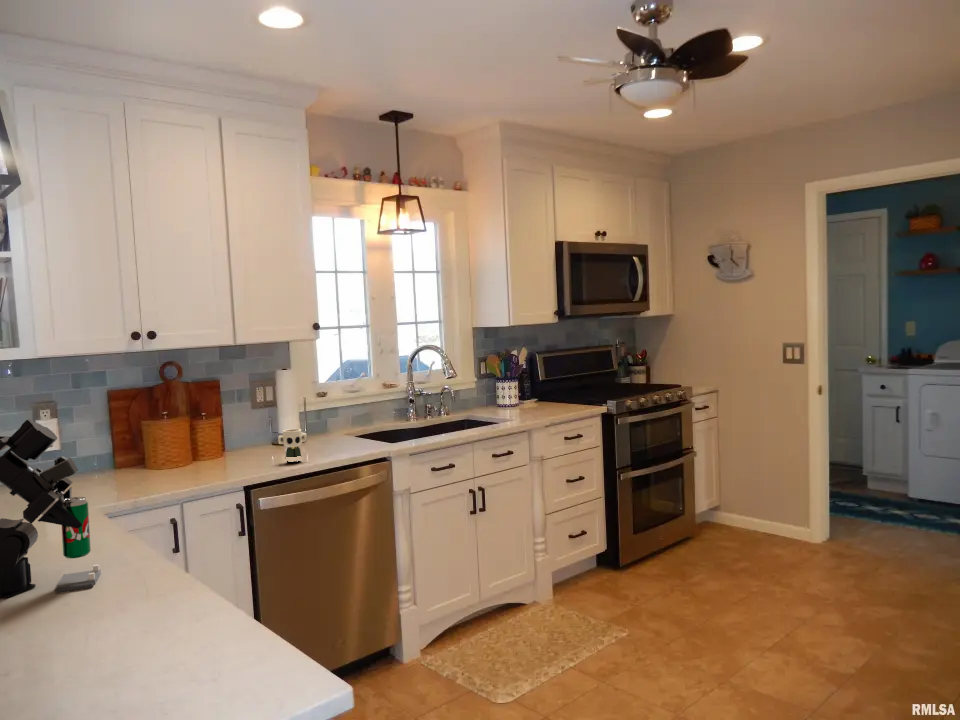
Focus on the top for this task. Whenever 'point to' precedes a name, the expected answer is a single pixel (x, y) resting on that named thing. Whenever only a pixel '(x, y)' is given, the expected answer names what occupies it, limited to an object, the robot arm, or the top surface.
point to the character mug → (292, 441)
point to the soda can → (76, 529)
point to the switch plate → (80, 577)
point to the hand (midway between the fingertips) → (82, 523)
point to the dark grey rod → (74, 587)
